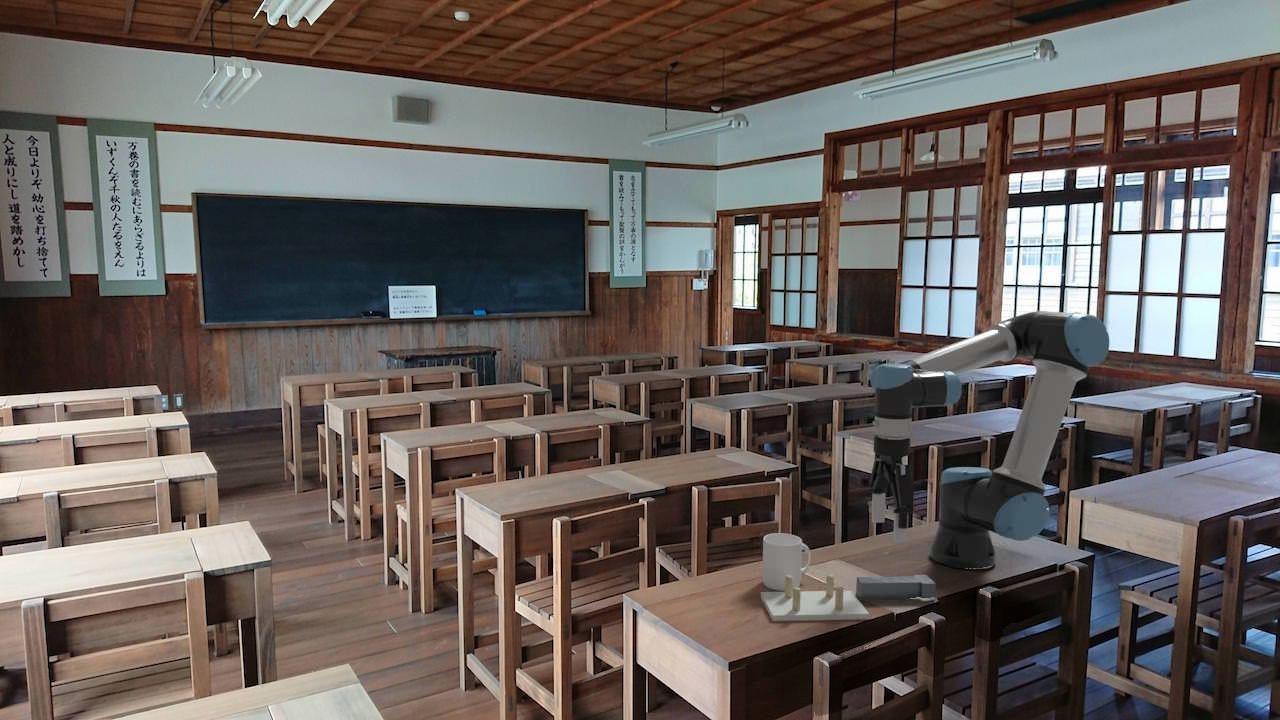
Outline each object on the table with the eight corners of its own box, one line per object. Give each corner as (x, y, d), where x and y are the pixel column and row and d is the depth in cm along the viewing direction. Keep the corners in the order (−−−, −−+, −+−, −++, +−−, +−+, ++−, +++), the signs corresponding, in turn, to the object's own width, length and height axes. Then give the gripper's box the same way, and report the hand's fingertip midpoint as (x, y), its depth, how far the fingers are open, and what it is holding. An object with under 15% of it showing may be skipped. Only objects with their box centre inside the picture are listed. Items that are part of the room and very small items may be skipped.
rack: (850, 595, 176) (851, 570, 175) (869, 619, 164) (869, 592, 163) (760, 597, 174) (761, 572, 174) (772, 621, 163) (773, 594, 162)
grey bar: (925, 592, 178) (926, 574, 178) (934, 601, 173) (935, 583, 173) (854, 593, 177) (855, 576, 177) (862, 602, 172) (863, 584, 172)
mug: (820, 586, 181) (822, 541, 179) (774, 594, 176) (775, 547, 175) (800, 573, 189) (801, 529, 187) (755, 580, 184) (756, 535, 183)
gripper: (856, 425, 184) (853, 514, 186) (896, 448, 159) (892, 551, 161) (888, 424, 184) (885, 514, 186) (933, 448, 159) (928, 551, 161)
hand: (888, 531), depth 174 cm, fingers open, 13 cm apart
